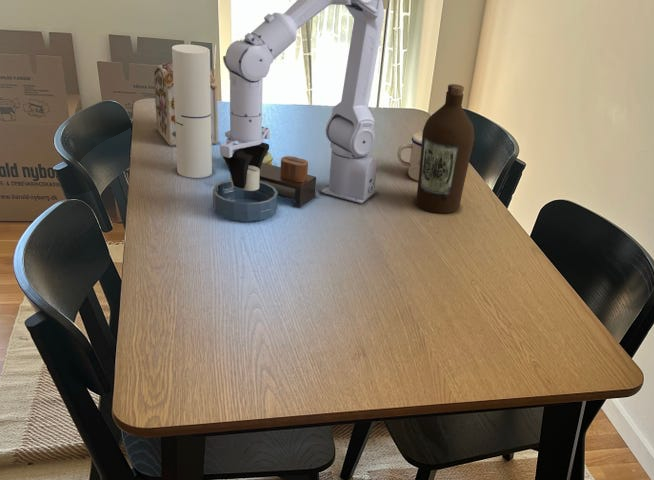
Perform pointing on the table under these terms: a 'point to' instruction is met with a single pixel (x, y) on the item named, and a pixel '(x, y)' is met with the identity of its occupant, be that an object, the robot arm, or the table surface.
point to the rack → (288, 185)
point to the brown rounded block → (294, 169)
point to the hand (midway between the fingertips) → (245, 183)
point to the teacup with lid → (413, 155)
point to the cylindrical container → (192, 110)
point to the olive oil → (445, 155)
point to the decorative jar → (167, 108)
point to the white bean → (251, 179)
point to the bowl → (245, 202)
